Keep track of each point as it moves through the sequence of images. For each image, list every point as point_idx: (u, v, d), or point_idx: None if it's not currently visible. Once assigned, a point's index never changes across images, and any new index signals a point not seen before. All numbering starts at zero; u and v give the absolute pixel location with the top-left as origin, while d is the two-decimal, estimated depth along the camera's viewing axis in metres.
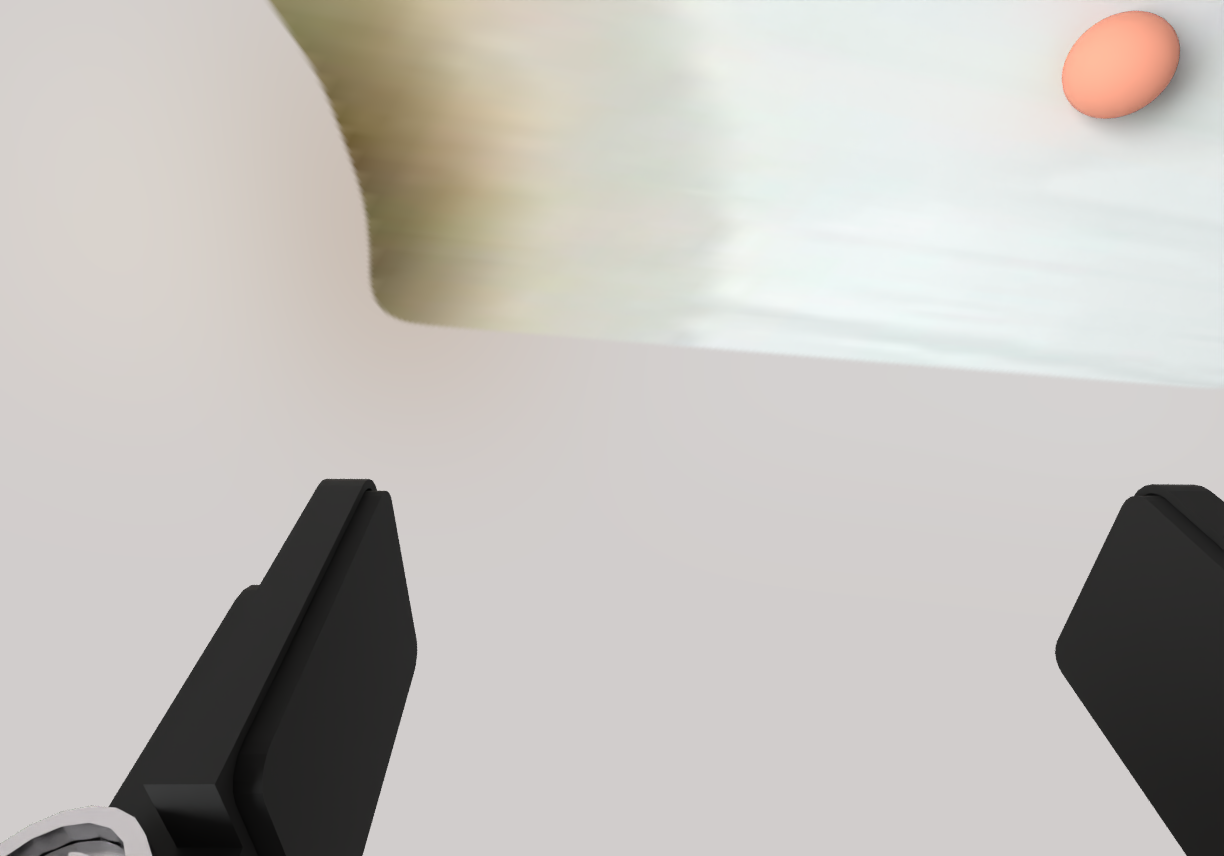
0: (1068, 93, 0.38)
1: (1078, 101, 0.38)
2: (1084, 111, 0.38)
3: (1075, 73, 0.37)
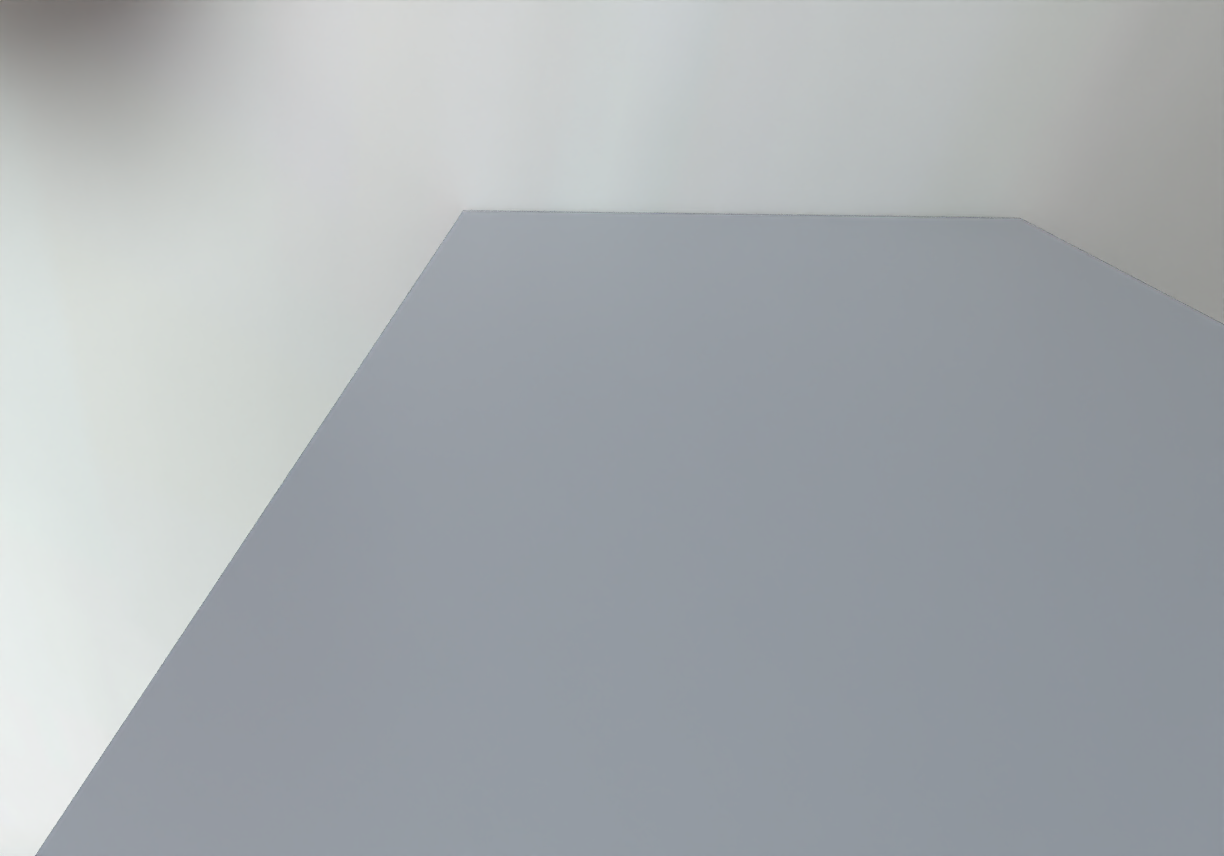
0: None
1: None
2: None
3: None
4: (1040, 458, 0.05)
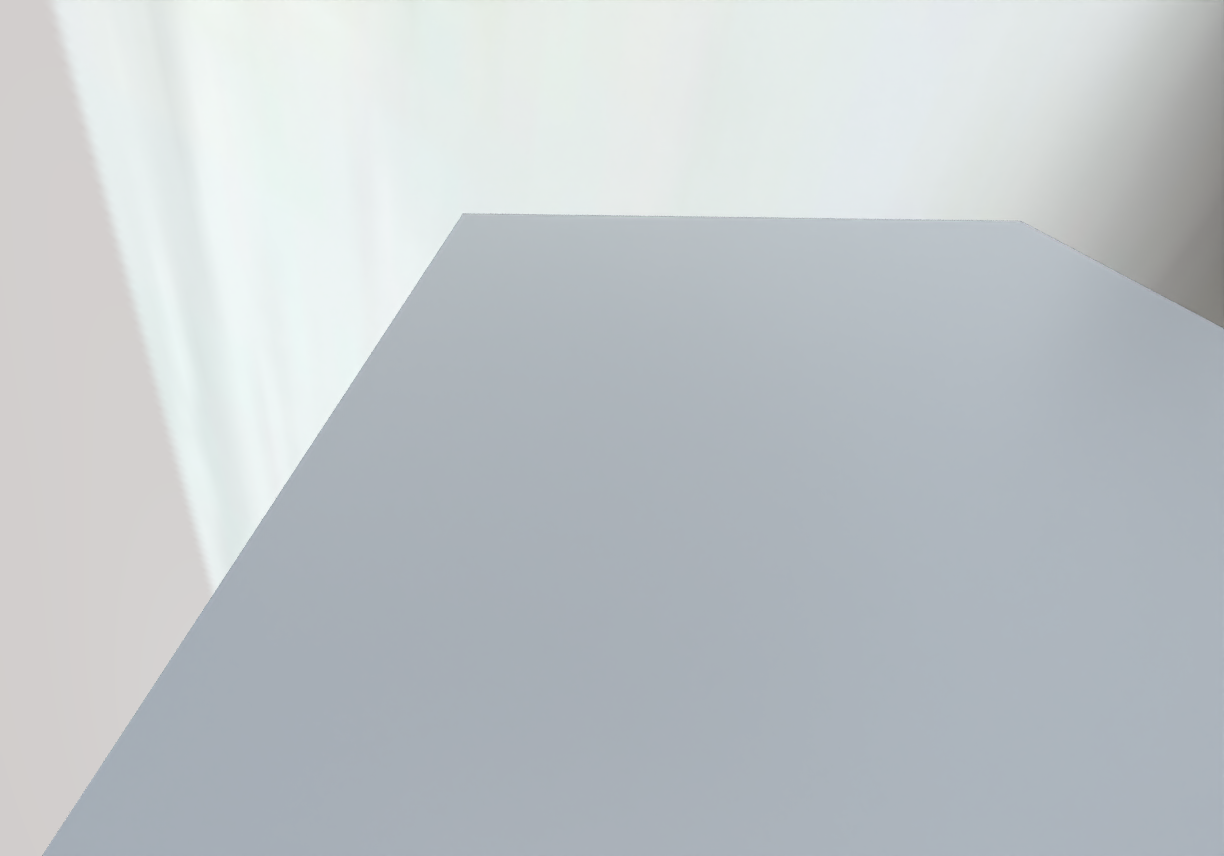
0: None
1: None
2: None
3: None
4: (1043, 466, 0.05)
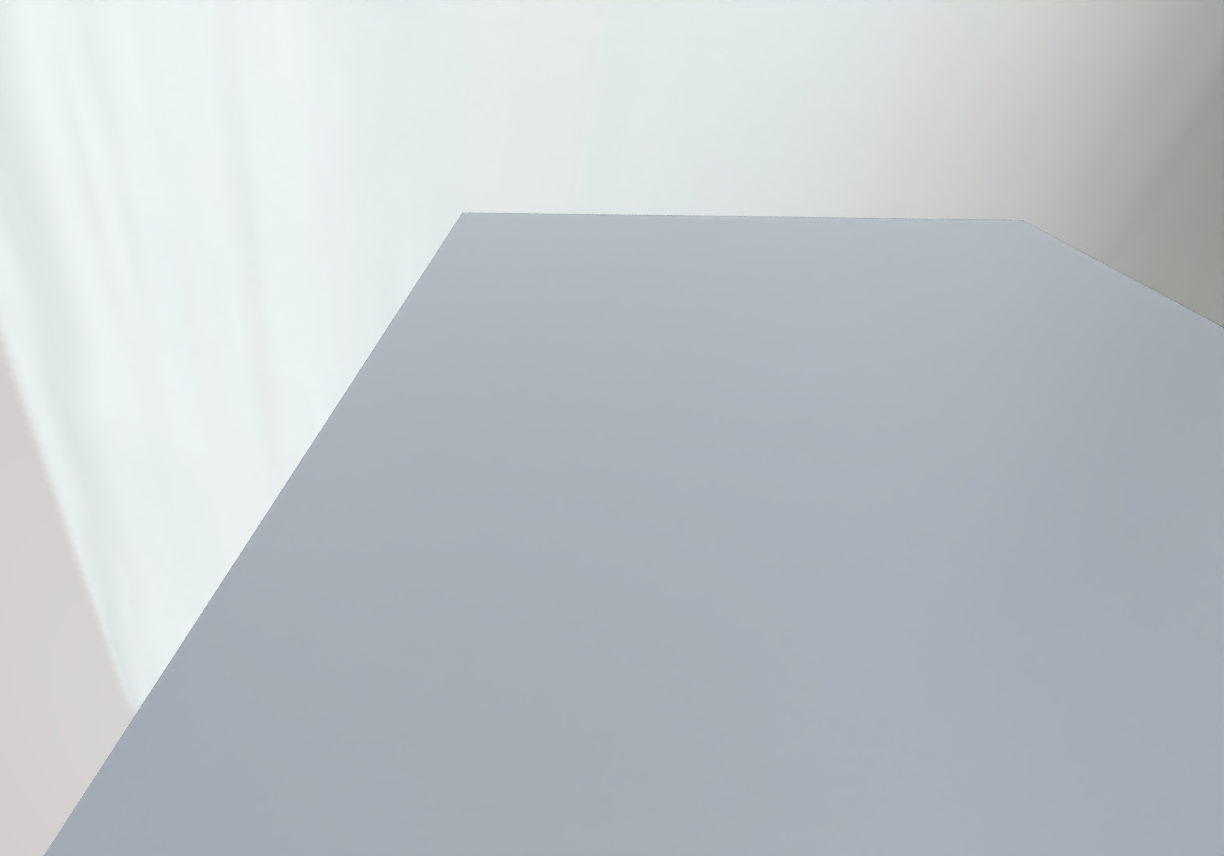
0: None
1: None
2: None
3: None
4: (1043, 468, 0.05)
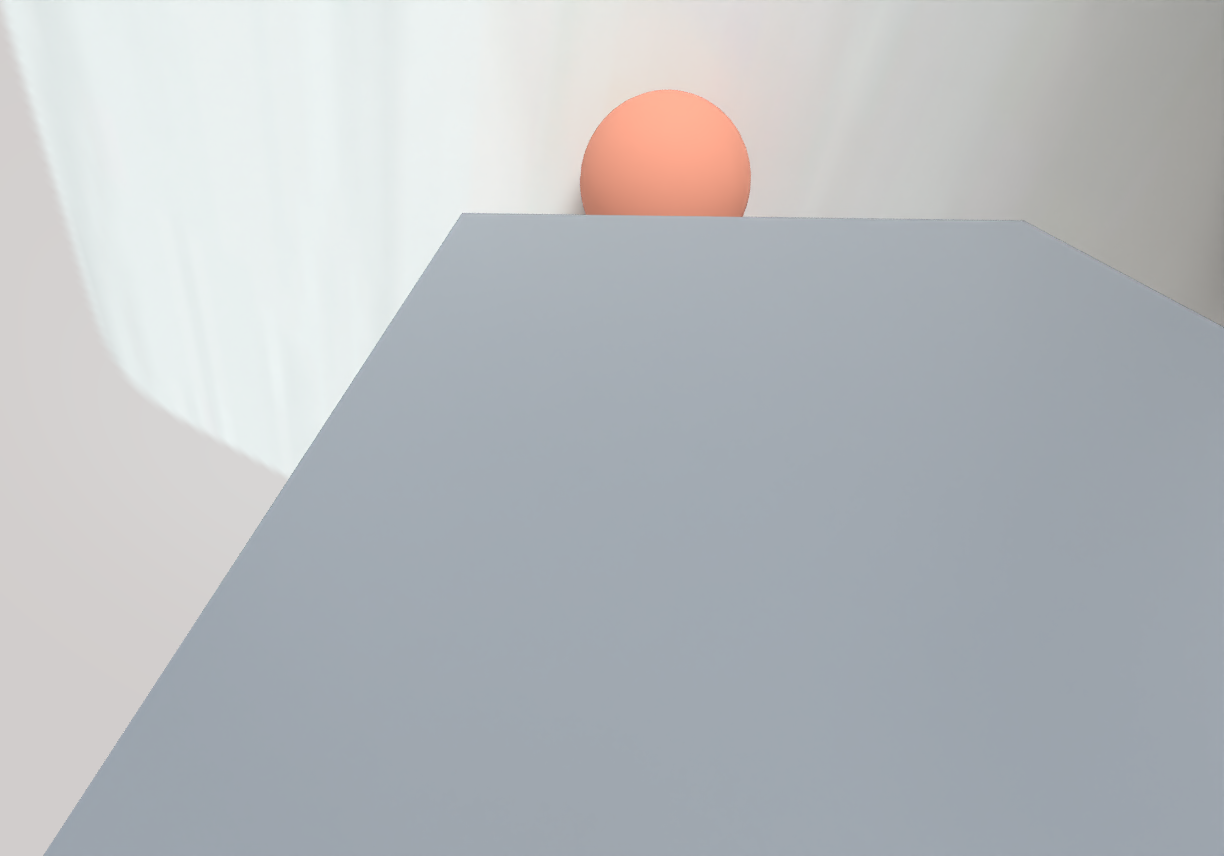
0: None
1: None
2: None
3: None
4: (1047, 471, 0.05)
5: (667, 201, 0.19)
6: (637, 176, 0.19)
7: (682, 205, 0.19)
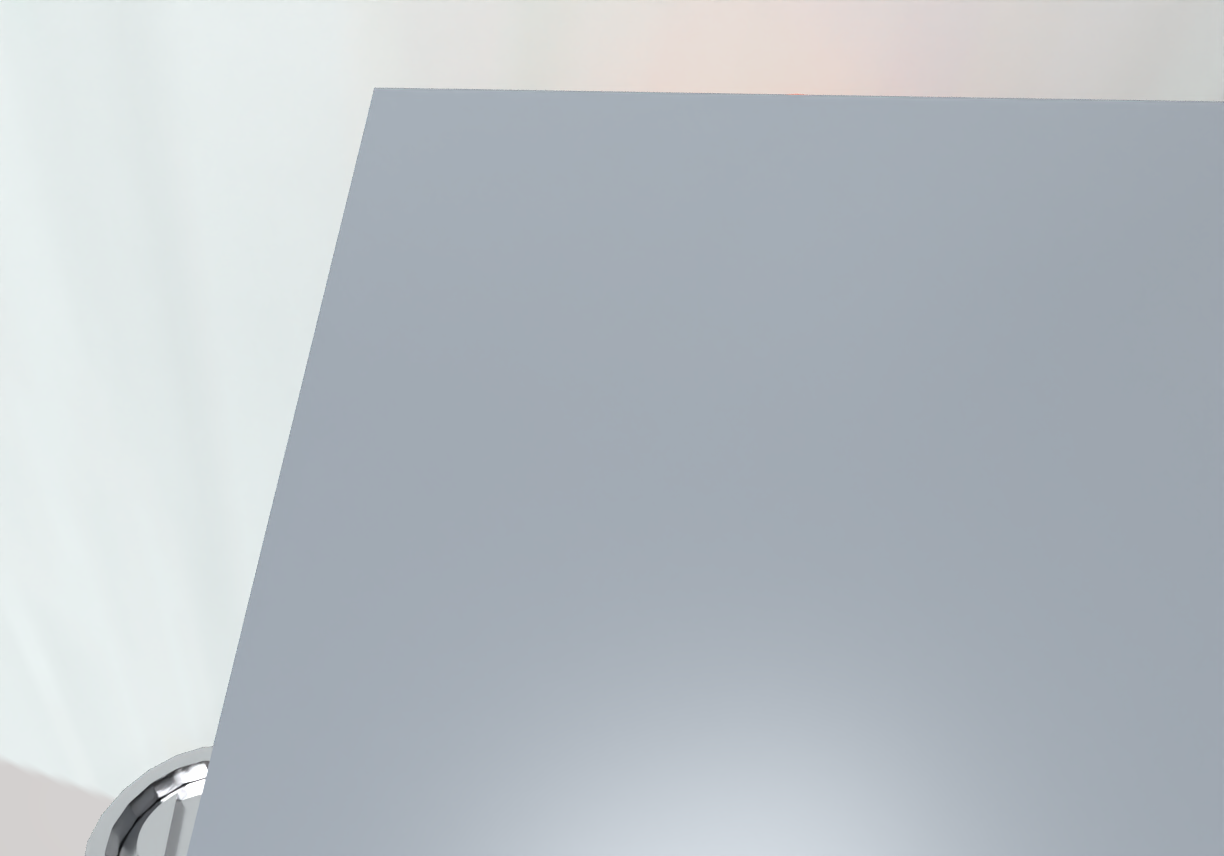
0: None
1: None
2: None
3: None
4: None
5: None
6: None
7: None
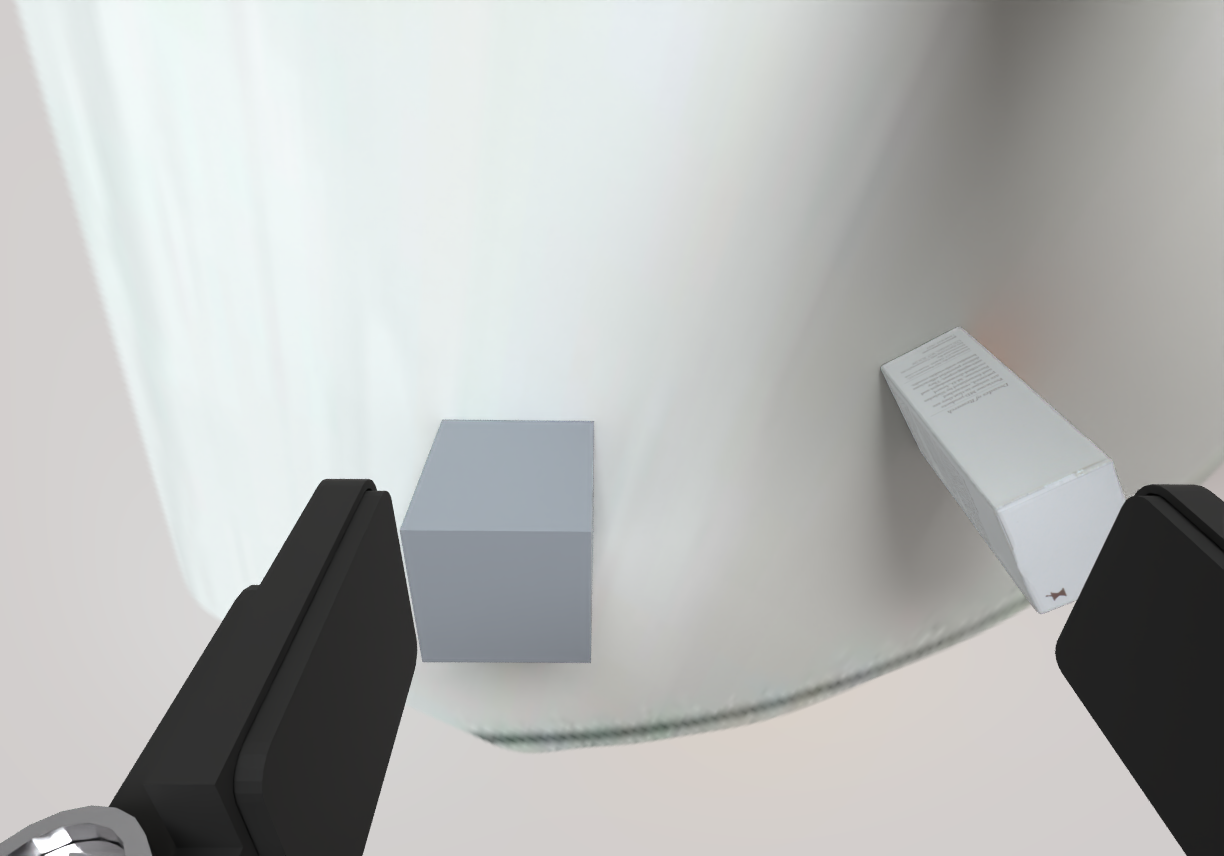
0: None
1: None
2: None
3: None
4: (524, 491, 0.31)
5: None
6: None
7: None
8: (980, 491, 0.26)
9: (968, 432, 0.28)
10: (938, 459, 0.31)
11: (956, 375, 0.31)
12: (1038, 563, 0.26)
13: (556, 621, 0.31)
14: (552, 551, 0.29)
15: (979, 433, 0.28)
